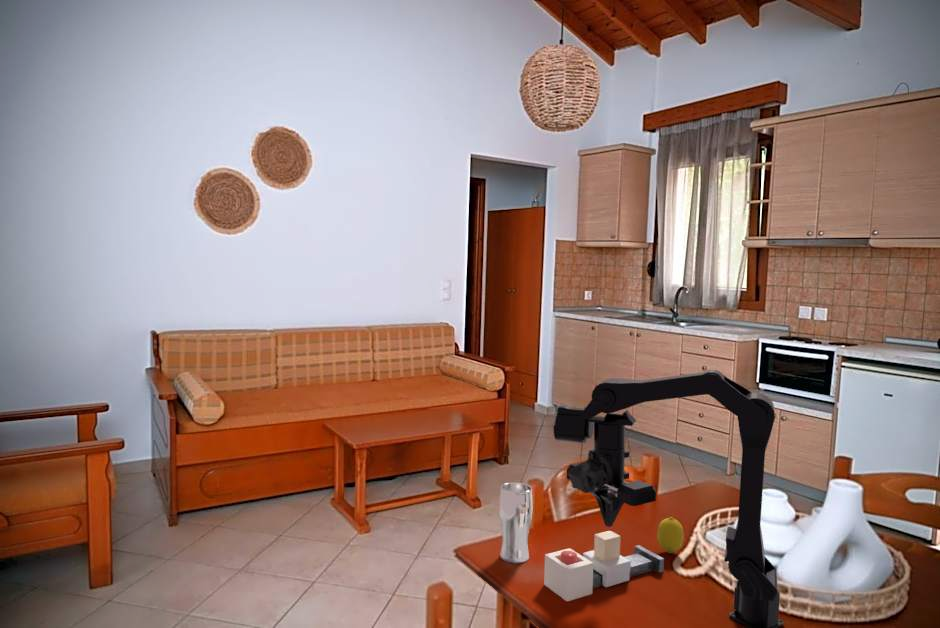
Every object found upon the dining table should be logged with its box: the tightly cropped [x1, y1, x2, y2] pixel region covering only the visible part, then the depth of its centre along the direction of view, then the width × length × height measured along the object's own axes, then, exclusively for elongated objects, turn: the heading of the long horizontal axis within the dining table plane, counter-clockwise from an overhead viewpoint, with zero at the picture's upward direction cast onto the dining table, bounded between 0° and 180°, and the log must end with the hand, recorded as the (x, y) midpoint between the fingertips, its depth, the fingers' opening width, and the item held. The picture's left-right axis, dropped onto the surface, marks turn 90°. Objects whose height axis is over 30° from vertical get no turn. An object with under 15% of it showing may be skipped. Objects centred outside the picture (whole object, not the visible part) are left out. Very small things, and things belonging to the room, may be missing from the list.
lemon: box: [656, 516, 685, 554], centre depth 134 cm, size 6×6×8 cm
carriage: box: [582, 530, 631, 588], centre depth 122 cm, size 7×6×8 cm
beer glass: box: [498, 481, 534, 564], centre depth 131 cm, size 7×7×15 cm
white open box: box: [543, 548, 594, 602], centre depth 118 cm, size 7×6×6 cm
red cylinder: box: [561, 550, 577, 565], centre depth 118 cm, size 3×3×5 cm
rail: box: [592, 544, 665, 589], centre depth 124 cm, size 7×17×3 cm, turn 120°
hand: (608, 526), depth 119 cm, fingers closed
